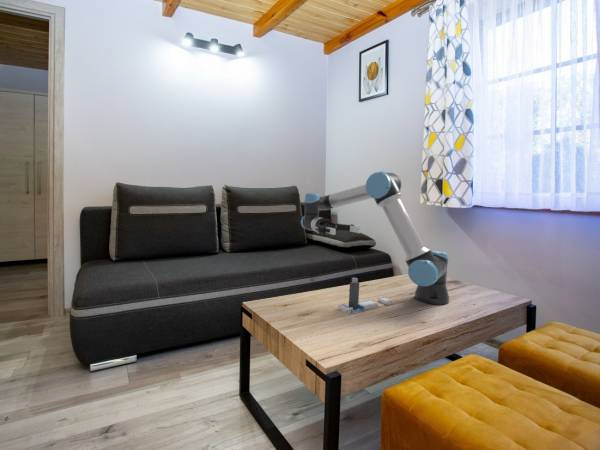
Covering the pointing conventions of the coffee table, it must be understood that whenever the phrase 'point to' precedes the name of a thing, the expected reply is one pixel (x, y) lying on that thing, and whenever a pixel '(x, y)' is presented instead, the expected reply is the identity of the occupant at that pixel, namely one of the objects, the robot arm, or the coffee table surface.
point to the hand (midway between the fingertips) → (347, 231)
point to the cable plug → (354, 294)
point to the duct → (364, 305)
